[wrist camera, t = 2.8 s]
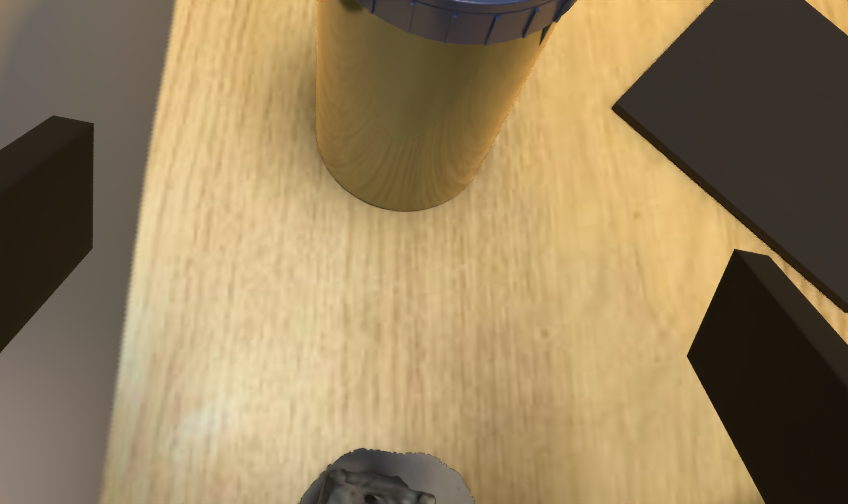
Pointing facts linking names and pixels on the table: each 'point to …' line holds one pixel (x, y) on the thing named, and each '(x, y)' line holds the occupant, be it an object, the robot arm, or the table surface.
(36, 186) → the robot arm
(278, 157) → the table surface
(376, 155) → the jar
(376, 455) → the toy car
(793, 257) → the mat
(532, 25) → the lid
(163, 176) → the table surface
